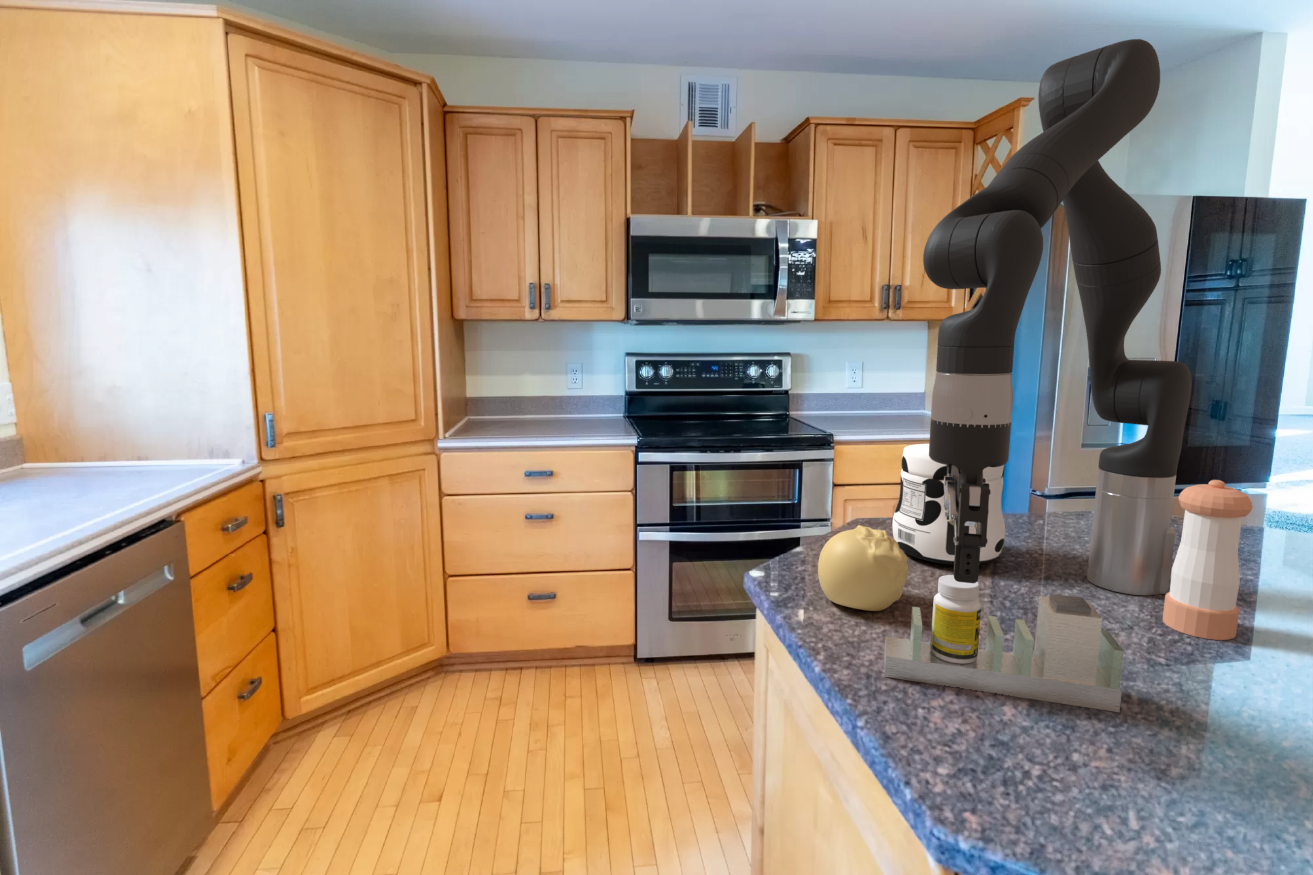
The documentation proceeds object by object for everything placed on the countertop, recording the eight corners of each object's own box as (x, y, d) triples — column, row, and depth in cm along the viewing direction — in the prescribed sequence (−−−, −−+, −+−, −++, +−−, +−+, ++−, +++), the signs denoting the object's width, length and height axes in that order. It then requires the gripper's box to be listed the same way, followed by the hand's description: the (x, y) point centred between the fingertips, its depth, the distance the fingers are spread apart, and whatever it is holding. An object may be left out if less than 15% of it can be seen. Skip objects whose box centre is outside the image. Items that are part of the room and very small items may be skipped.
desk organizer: (1103, 687, 70) (1113, 597, 69) (1119, 712, 65) (1130, 616, 64) (884, 655, 77) (888, 573, 76) (884, 676, 72) (889, 589, 71)
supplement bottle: (982, 667, 70) (988, 591, 68) (935, 663, 70) (940, 587, 69) (970, 646, 74) (976, 574, 73) (926, 642, 75) (930, 571, 74)
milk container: (1007, 550, 114) (1016, 447, 112) (996, 581, 100) (1006, 464, 97) (903, 534, 124) (908, 439, 121) (879, 561, 109) (885, 453, 106)
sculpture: (914, 623, 86) (919, 543, 84) (819, 616, 88) (822, 538, 86) (898, 589, 97) (902, 518, 95) (814, 584, 99) (817, 514, 97)
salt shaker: (1218, 645, 80) (1239, 489, 77) (1150, 622, 86) (1167, 477, 83) (1247, 632, 83) (1268, 483, 80) (1180, 611, 89) (1197, 472, 86)
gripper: (1025, 427, 60) (1012, 596, 63) (999, 409, 74) (989, 549, 76) (936, 424, 63) (927, 588, 65) (926, 407, 76) (919, 543, 78)
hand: (960, 567), depth 71 cm, fingers open, 8 cm apart
